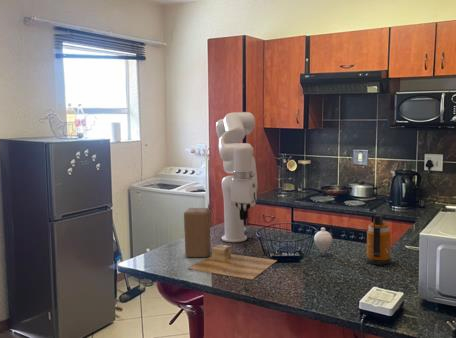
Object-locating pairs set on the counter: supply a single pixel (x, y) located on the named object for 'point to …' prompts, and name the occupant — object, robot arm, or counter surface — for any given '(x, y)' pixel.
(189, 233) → the block
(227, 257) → the oak cube
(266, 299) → the counter surface
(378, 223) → the amber tall bottle
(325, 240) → the spinning top
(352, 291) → the counter surface
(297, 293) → the counter surface
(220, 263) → the wooden board
